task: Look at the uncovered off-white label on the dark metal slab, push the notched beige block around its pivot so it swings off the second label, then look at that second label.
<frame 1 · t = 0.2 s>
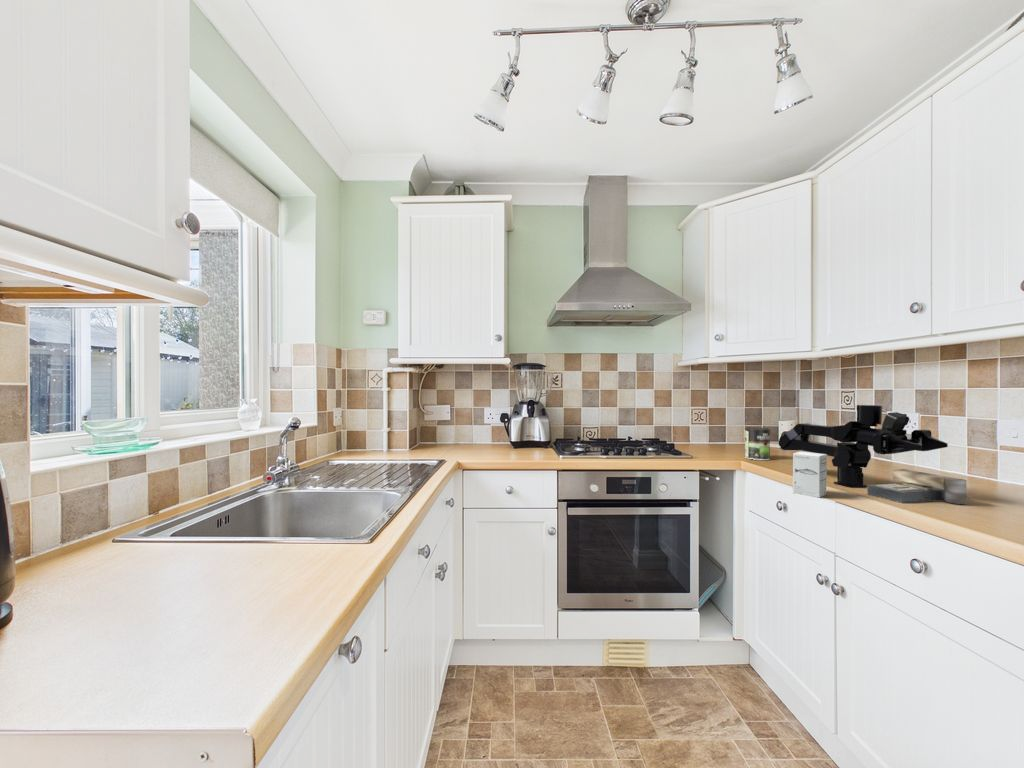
hand: (934, 446, 125), 16 cm above the worktop, tool horizontal, fingers open, 9 cm apart
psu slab: (911, 497, 133), on the worktop
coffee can: (757, 459, 204), on the worktop
notched beige block: (929, 485, 133), point 4 cm above the worktop, hinge at 0.0°
supplement box: (809, 494, 137), on the worktop
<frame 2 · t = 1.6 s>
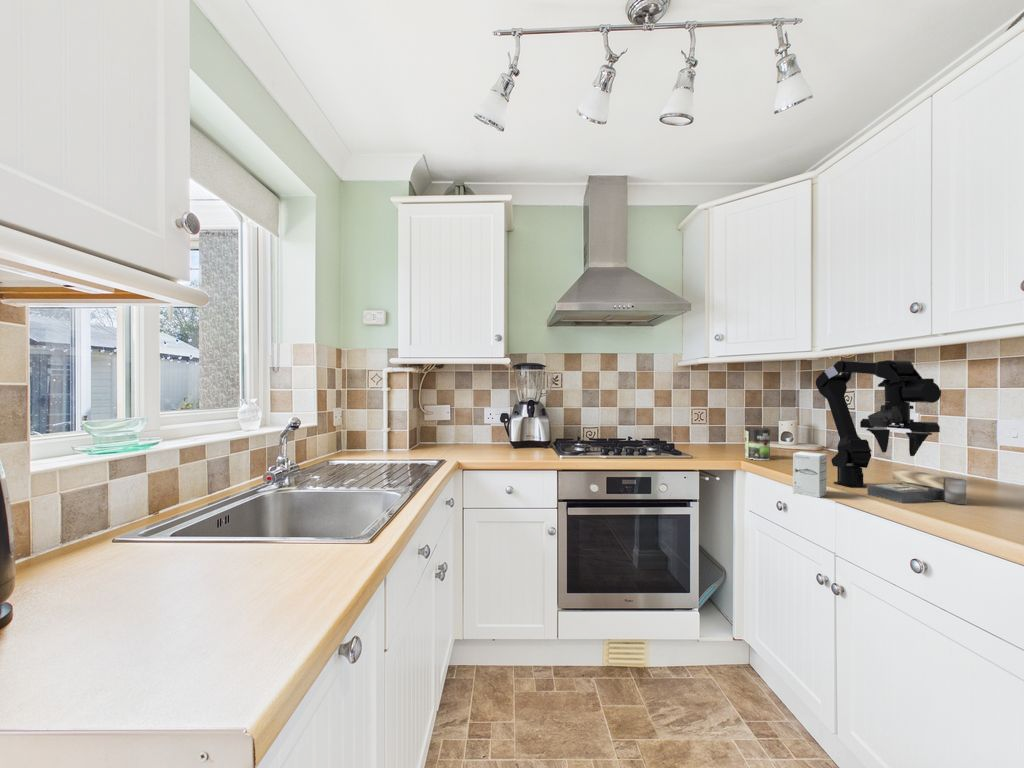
hand: (897, 454, 133), 13 cm above the worktop, tool pointing down, fingers open, 8 cm apart
nothing on the worktop moved.
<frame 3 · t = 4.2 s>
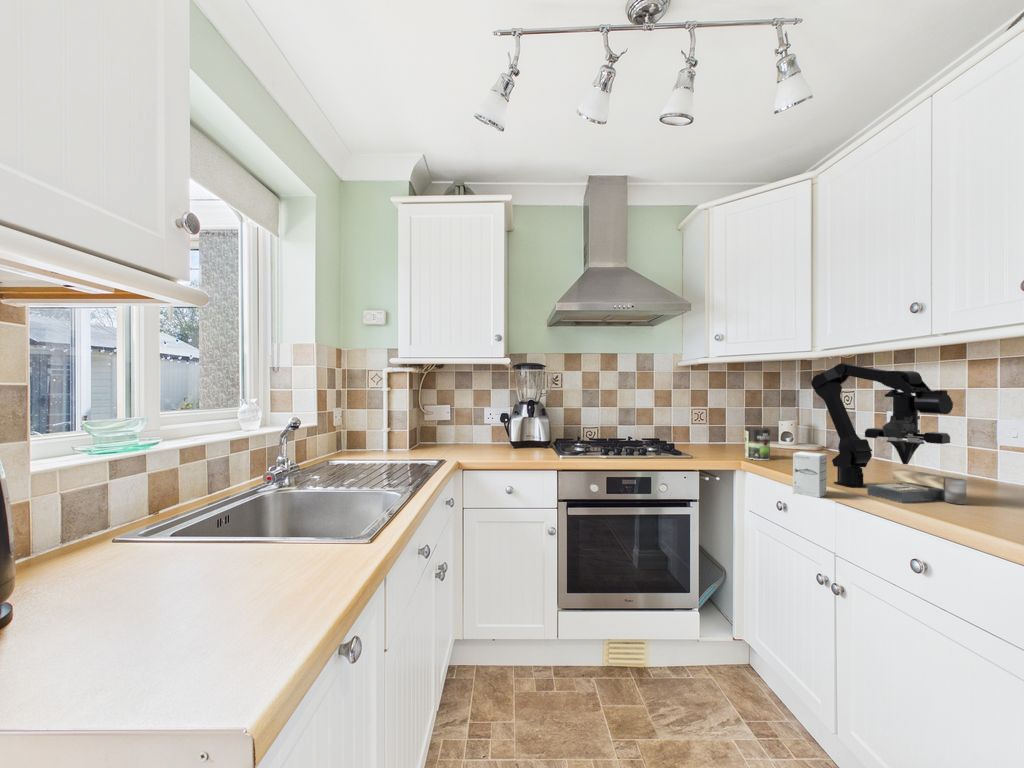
hand: (905, 464, 134), 10 cm above the worktop, tool pointing down, fingers closed
nothing on the worktop moved.
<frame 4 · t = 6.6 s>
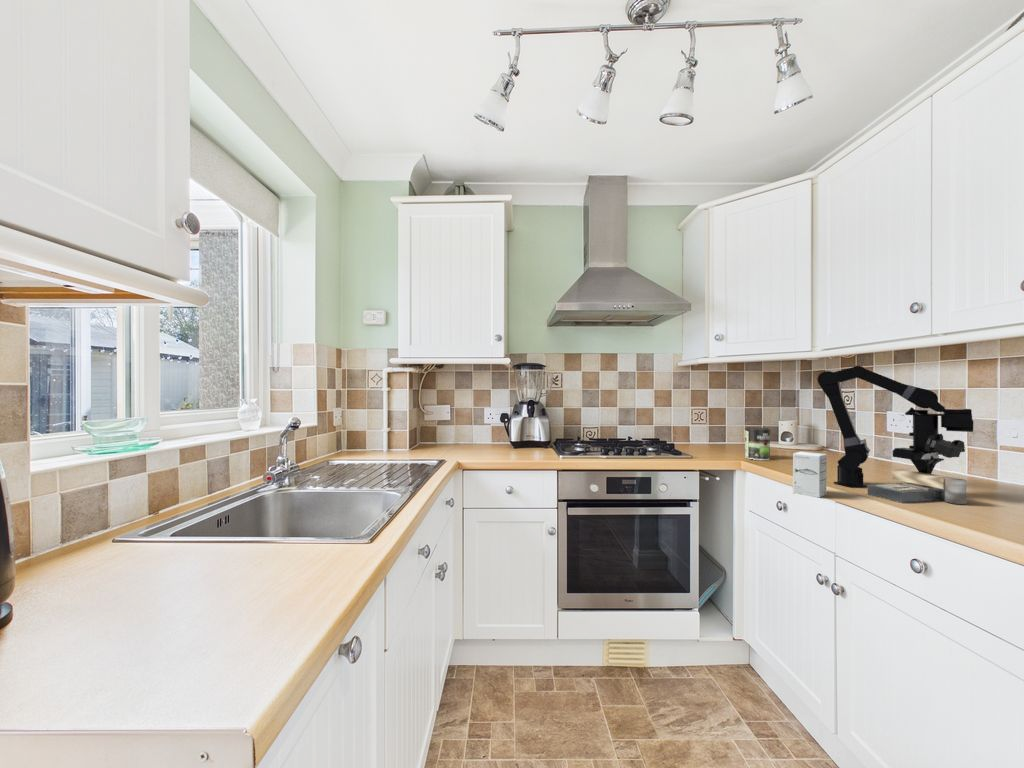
hand: (925, 480, 137), 4 cm above the worktop, tool pointing down, fingers closed
notched beige block: (929, 485, 133), point 4 cm above the worktop, hinge at 0.8°, touching gripper
everything else where it was.
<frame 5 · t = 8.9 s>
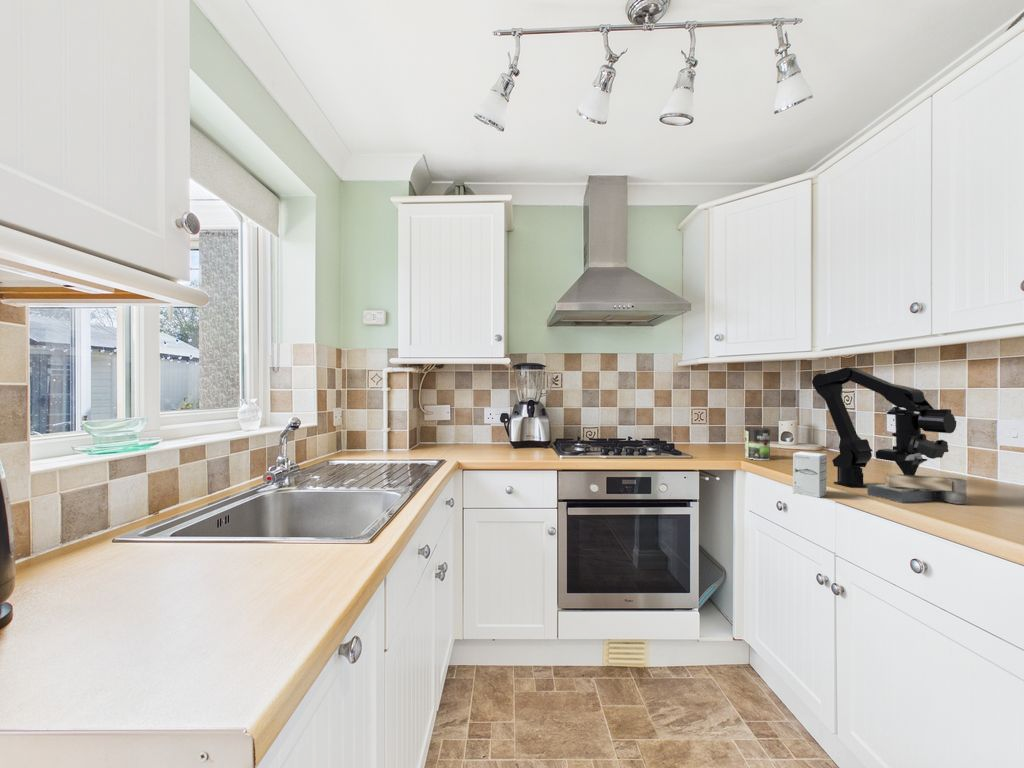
hand: (909, 481, 134), 5 cm above the worktop, tool pointing down, fingers closed
notched beige block: (924, 488, 130), point 4 cm above the worktop, hinge at 52.6°, touching gripper
everything else where it was.
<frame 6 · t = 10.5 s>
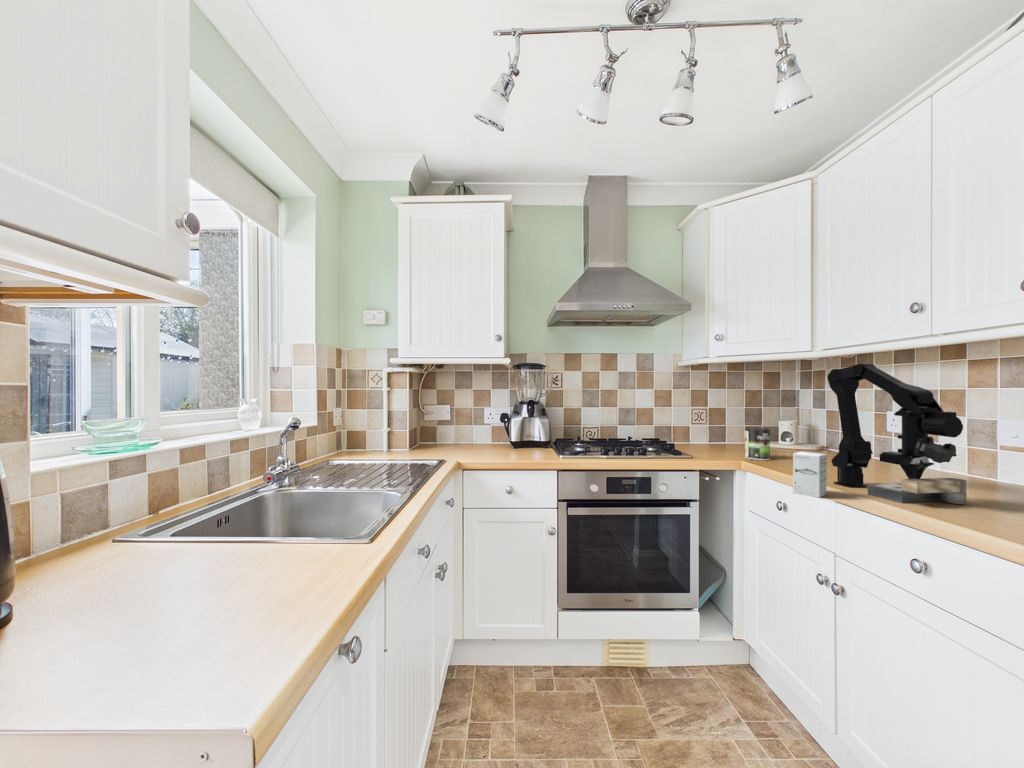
hand: (914, 485, 129), 4 cm above the worktop, tool pointing down, fingers closed, pressing on notched beige block
notched beige block: (935, 491, 126), point 4 cm above the worktop, hinge at 87.1°, touching gripper
everything else where it was.
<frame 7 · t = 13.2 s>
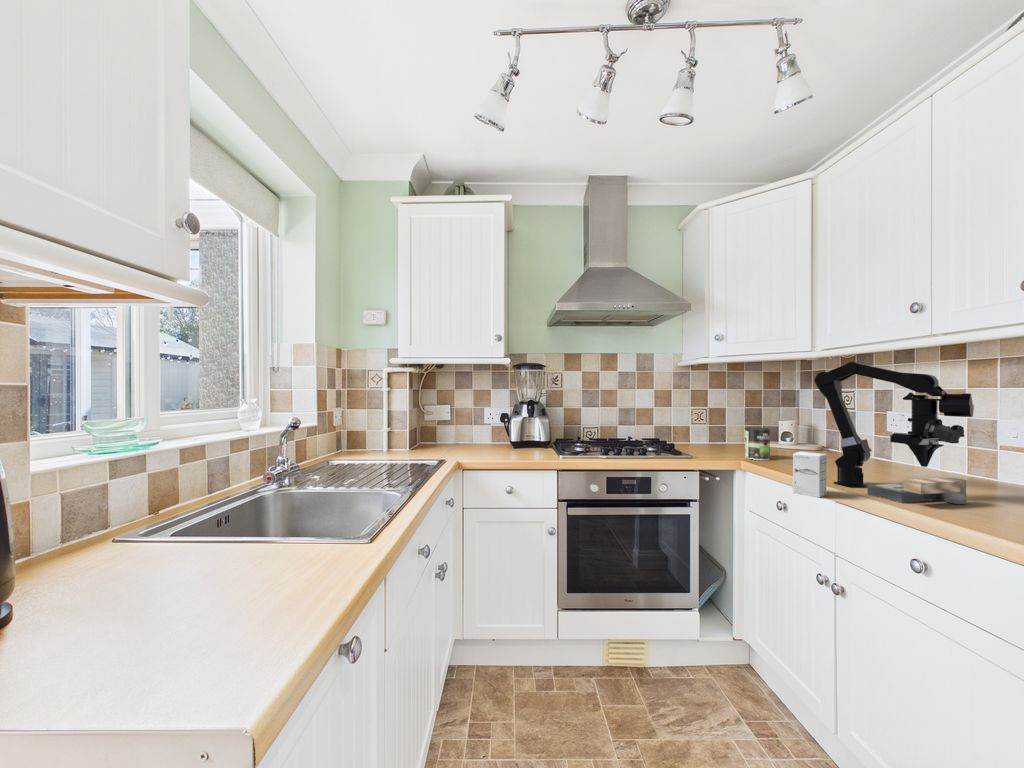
hand: (924, 466, 135), 9 cm above the worktop, tool pointing down, fingers closed
notched beige block: (937, 491, 125), point 4 cm above the worktop, hinge at 90.3°
everything else where it was.
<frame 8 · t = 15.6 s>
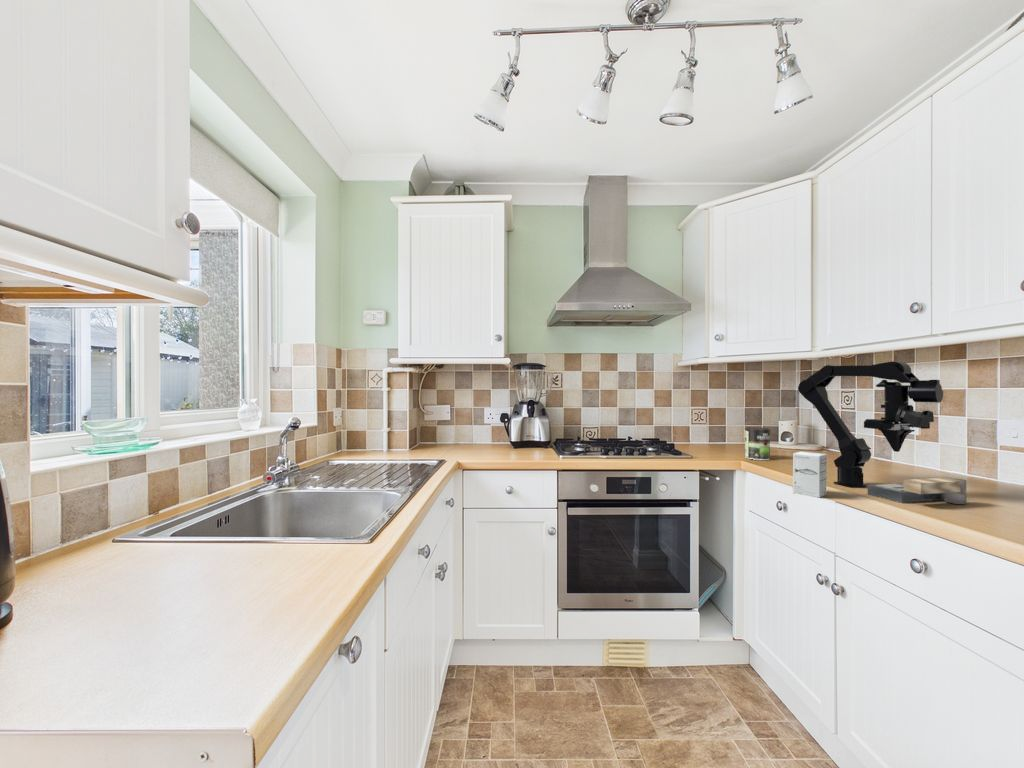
hand: (896, 451, 139), 13 cm above the worktop, tool pointing down, fingers closed
nothing on the worktop moved.
at the end: notched beige block at +90° (first picture: +0°); supplement box moved 0.3 cm from its start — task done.
